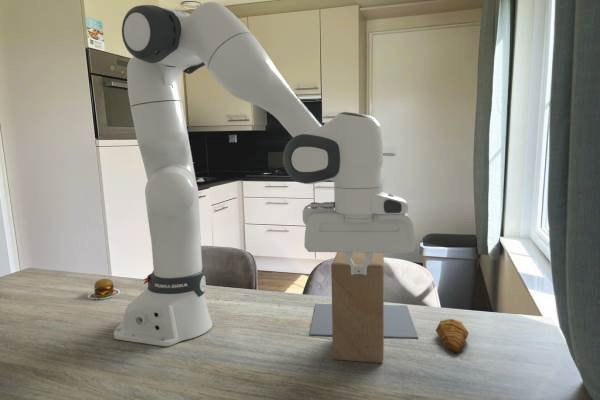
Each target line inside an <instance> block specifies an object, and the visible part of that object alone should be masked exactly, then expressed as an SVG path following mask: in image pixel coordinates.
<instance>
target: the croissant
mask: <svg viewBox="0 0 600 400" xmlns="http://www.w3.org/2000/svg"><path fill="white" fill-rule="evenodd" d="M435 332H436V334H437V335H438V337H439V338H440V339H441V341H442V344H443V345H444V347H445V348H446V349H447V350H448V351H449V352H451V354H455V355H456V354H460V352H461V351H462V349H463V347H464V346H465V345H466V342H467V341H466V340H467V338H468V337H469V331H468V330H467V328H466V327H465V325H464V323H463V322H462V321H459V320H455V319H453V318H448V319H443V320H440V321H439V322H438V325H437V328H436V329H435Z"/></svg>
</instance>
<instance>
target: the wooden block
mask: <svg viewBox="0 0 600 400" xmlns="http://www.w3.org/2000/svg"><path fill="white" fill-rule="evenodd" d="M384 257H385V255H384V253H373V258H372V260H371V262H370V263H369V265H368V266H367V275H351V267H350V265H349V263H348V262H347V260H346V259H345V252H336V254H335V256H334V258H333V260H332V262H331V265H330V266H331V268H330V272H331V275H330V276H331V277H330V278H331V304H332V336H331V337H332V358H333V360H336V361H337V360H339V361H349V362H361V363H363V362H364V363H374V364H383V363H384V345H385V344H384V342H385V341H384V340H385V337H384V305H385V303H384V302H385V301H384V298H385V297H384V294H385V293H384V288H385V287H384V285H385V284H384V282H385V281H384V278H385V277H384V276H385V275H384V274H385V273H384V272H385V271H384V266H385V265H384V260H385V258H384ZM351 259H352V260H353V262H354V264H363V263H364V261H365V259H366V258H365V252H353V254H352V258H351Z"/></svg>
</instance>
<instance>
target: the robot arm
mask: <svg viewBox="0 0 600 400" xmlns="http://www.w3.org/2000/svg"><path fill="white" fill-rule="evenodd" d="M121 37H122V38H121V39H122V41H123V44H124V47H125V48H126V50H127V51H128V53H129V54H130V55H132V57H131V58H130V59H129V61H128V63H127V66H126V67H127V68H126V78H127V79H126V80H127V81H126V82H127V83H126V84H127V93H128V99H129V100H128V101H129V105H130V111H131V116H132V121H133V127H134V131H135V135H136V136H135V137H136V140H137V142H136V143H137V146H138V149H139V151H140V155H141V159H142V163H143V166H144V171H145V174H146V178H147V182H146V183H145V184H146V185H145V190H144V194H145V196H144V197H145V205H146V215H147V223H148V228H149V234H150V242H151V254H152V264H153V265H152V266H153V270H152V272H151V273H150V274H148V275H147V277H145V278H144V279H143V285H146V284H147V288H146V289H144V291H142V292H141V293H140V294H139V295H138V296H136V298H134V299H133V300H132V301H131V302H130V303H129V304H128V305H127V306H126V307H125V308H126V309H125V311H124V315H123V321H122V322H121V323H119V325H118V326H117V327H116V328H115V330H113V339H114V340H119V341H127V342H133V343H141V344H146V345H147V344H148V345H154V346H161V347H171V346H173V345H175V344H177V343H180V342H182V341H183V342H184V341H186V340H190V339H193V338H197V337H199V336H201V335H203V334H205V333H207V332H209V330H211V328H212V327H213V320H212V317H211V315H210V311H209V307H208V303H207V298H206V293H205V292H206V287H207V286H206V284H207V283H206V274H205V268H204V267H203V257H202V242H201V220H200V217H201V216H200V200H199V188H198V184H197V178H196V172H195V168H194V163H193V156H192V155H193V154H192V150H191V145H190V140H189V139H190V138H189V134H188V133H189V131H188V128H187V123H186V117H185V111H184V106H183V102H182V101H183V100H182V96H181V90H180V76H181V75H182V73H183V72H184V73H185V74H188V75H191V74H192V73H194V72H196V71H197V70H199V69H201V68H203V67H204V66H205V67H206V69H208V71H209V72H210V73H211V75H212V76H213V78H215V80H216V82H218V83H219V84H220V85H221V86H222V88H224V89H225V90H226V91H227V92H228V93H229V94H230V95H232V96H233V97H235V98H236V99H239V100H241V101H244V102H246V103H249V104H251V105H254V106H257V107H258V108H260V109H263V110H265V111H266V112H267V113H269V114H270V115H272V116H273V117H274V118H275V119H277V121H279V123H280V124H281V125H282V127H283V128H284V129H285V130H286V131H287V132H288V133H289V135H291V137H292V138H291V139H290V140H289V141H288V142H287V144H286V145H285V146H284V150H283V155H282V161H283V168H284V169H285V172H286V174H287V175H288V177H290V178H291V179H292V180H294V181H295V182H297V183H300V184H304V185H315V184H319V183H324V182H333V187H334V189H333V191H334V192H333V193H334V195H333V197H334V199H333V200H334V201H325V202H324V201H323V202H316V201H313V202H310V204H309V203H308V205H306V206H304V207H303V209H302V222H303V224H304V225H305V230H304V245H303V246H304V249H305V250H306V251H307V252H309V253H337V252H345V259H346V260H347V262H348V263H349V265H350V267H351V275H367V266H368V265H369V263H370V262H371V260H372V258H373V253H383V254H384V253H386V254H389V253H390V254H391V253H393V254H394V253H395V254H396V253H397V254H398V253H399V254H400V253H401V254H403V253H404V254H405V253H406V254H410V253H412V252H413V250H414V249H415V248H416V239H415V237H416V236H415V228H414V223H413V220H412V218H411V217H410V216H409V214H408V211H409V204H408V202H407V200H406V199H404V198H403V197H400V196H397V195H394V194H390V193H387V192H384V189H383V188H384V185H383V184H384V183H383V180H382V174H381V173H382V167H383V164H384V163H383V162H384V156H383V155H384V150H383V149H384V147H383V145H384V144H383V136H382V135H383V133H382V128H381V125H380V123H379V121H378V120H377V119H376V118H375V117H374V116H371V115H368V114H362V113H358V112H357V113H356V112H347V111H343V112H339V113H337V114H336V115H335V116H334V117H333V118H332V119H331V120H329V121H327V122H326V123H325V124H322V123H321V122H320V121H319V120H318V119H317V118H316V117H315V115H314V114H313V113H312V112H311V111H310V110H309V109H308V107H307V106H306V105H305V104H304V102H303V101H302V100H301V99H300V98H299V96H298V95H297V94H296V93H295V92H294V91H293V89H291V88H292V87H290V85H289V84H288V83H287V81H286V80H285V79H284V77H283V75H282V74H281V73H280V72H279V70H278V68H277V67H276V65H275V64H274V62H273V61H272V59H271V58H270V56H269V55H268V53H267V52H266V51H265V49H264V47H263V46H262V45H261V43H260V42H259V41H258V39H257V38H256V37H255V35H254V34H253V33H252V31H250V29H249V28H248V27H247V26H246V25H245V24H244V23H243V22H242V21H241V20H240V18H239V17H237V16H236V15H235V14H234V13H233V12H232V11H231V10H230V9H228V8H227V7H226V6H224V5H223V4H221V3H219V2H216V1H207V2H204V3H202V4H200V5H198V6H196V8H195V9H193V11H192V12H191V13H188V12H186V11H182V10H179V9H173V8H172V9H171V8H165V7H161V6H158V5H154V4H142V5H136V6H134V7H132V8H130V9H129V10H128V11H127V12H126V14H125V16H124V18H123V20H122V23H121ZM353 252H365V258H366V259H365V261H364V263H363V264H354V262H353V260H352V259H351V258H352V254H353Z"/></svg>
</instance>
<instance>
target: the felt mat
mask: <svg viewBox="0 0 600 400" xmlns="http://www.w3.org/2000/svg"><path fill="white" fill-rule="evenodd" d="M412 318H413V317H412V316H411V313H410V311H409V308H408V305H399V304H398V305H395V304H393V305H392V304H390V305H389V304H384V339H385V338H391V339H392V338H395V339H419V335H418V332H417V330H416V327H415V324H414V321H413V319H412ZM309 336H312V337H313V336H314V337H315V336H316V337H318V336H319V337H332V303H315V307H314V312H313V317H312V321H311V325H310V331H309Z"/></svg>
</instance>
